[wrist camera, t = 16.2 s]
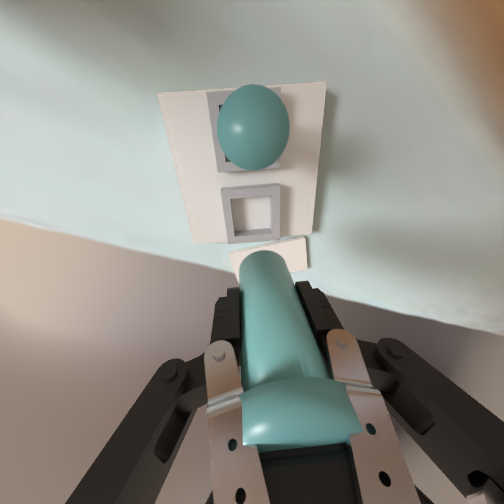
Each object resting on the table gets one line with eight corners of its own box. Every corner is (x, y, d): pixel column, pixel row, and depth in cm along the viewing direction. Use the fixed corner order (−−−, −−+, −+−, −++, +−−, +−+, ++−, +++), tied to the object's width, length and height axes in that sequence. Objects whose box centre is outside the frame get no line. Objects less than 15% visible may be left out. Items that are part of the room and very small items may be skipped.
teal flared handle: (222, 108, 20) (211, 87, 12) (268, 105, 20) (291, 81, 12) (227, 159, 23) (222, 173, 14) (269, 156, 23) (288, 167, 14)
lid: (238, 280, 34) (238, 283, 34) (229, 251, 31) (229, 254, 31) (306, 266, 34) (307, 268, 33) (303, 235, 31) (305, 237, 30)
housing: (196, 238, 30) (191, 250, 26) (163, 96, 21) (149, 88, 18) (307, 228, 30) (315, 239, 27) (319, 85, 21) (334, 76, 18)
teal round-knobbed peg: (226, 245, 13) (209, 439, 5) (296, 239, 14) (399, 417, 5) (234, 297, 16) (232, 487, 7) (293, 291, 16) (359, 472, 7)
